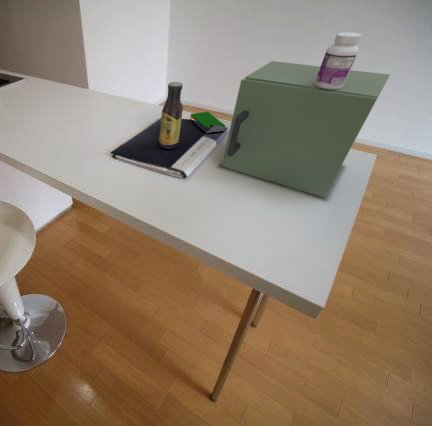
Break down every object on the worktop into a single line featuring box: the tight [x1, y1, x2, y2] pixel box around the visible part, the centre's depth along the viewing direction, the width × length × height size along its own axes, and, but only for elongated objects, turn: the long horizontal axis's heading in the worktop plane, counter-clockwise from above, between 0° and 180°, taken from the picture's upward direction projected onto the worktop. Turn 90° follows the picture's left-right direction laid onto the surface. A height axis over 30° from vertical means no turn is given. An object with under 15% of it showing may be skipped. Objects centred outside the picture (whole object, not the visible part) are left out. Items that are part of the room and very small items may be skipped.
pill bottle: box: [314, 31, 362, 90], centre depth 59 cm, size 5×5×10 cm
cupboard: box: [244, 60, 391, 176], centre depth 75 cm, size 18×26×24 cm
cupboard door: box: [221, 78, 378, 198], centre depth 68 cm, size 7×26×24 cm, turn 51°
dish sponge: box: [189, 111, 226, 128], centre depth 105 cm, size 7×14×2 cm, turn 12°
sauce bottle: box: [158, 81, 184, 145], centre depth 88 cm, size 6×6×20 cm
